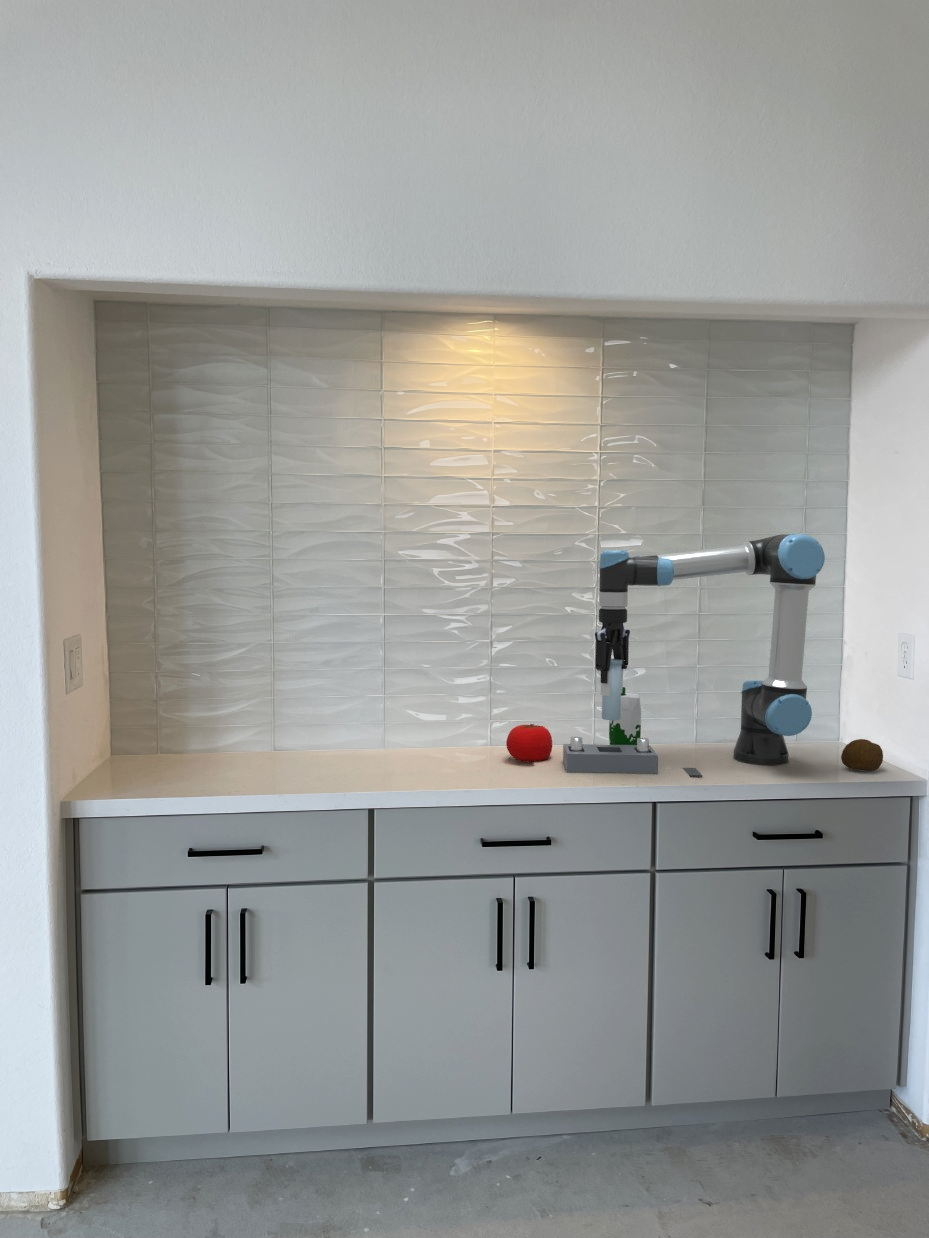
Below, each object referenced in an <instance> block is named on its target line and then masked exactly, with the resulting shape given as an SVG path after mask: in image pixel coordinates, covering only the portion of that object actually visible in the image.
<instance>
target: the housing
mask: <svg viewBox="0 0 929 1238" xmlns="http://www.w3.org/2000/svg"><path fill="white" fill-rule="evenodd" d="M562 745H563V746H562V747H563V748H562V763H563V767H564V768H565V772H566V773H568V774H573V773H574V774H619V775H620V774H622V775H658V773H659V771H658V769H659V755H658V753H657V752H656V751H655V750H654V748H653V747H652V746H651V745H650V744H649V753H637V745H610V744H590V743H587V744H585V743H584V744H583V743H582V752H571V751H570V743H563V744H562Z"/></svg>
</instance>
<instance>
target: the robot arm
mask: <svg viewBox="0 0 929 1238" xmlns="http://www.w3.org/2000/svg"><path fill="white" fill-rule="evenodd" d="M824 551H825V550H824V549H823V546H822V545H821V543H819V541H818V540H817V539H816V538H814V537H812V536H811V535H808V534H802V533H791V534H789V533H788V534H776V535H772V536H768V537H764V538H760V539H755V540H754V539H753V540H749V541H744V542H743V544H742V545H734V546H733V545H732V546H726V547H725V546H724V547H716V548H708V549H698V550H690V551H680V552H672V553H671V552H670V553H662V554H655V555H645V556H632V557H630V555H629V551H628V550H623V549H622V550H620V549H619V550H616V549H614V550H613V549H605V550H603V551H601V552H600V557H599V559H600V560H599V567H598V569H599V590H598V591H599V593H598V594H599V597H598V598H599V599H598V602H599V603H598V606H599V607H600V608H599V609H598V621H599V623H602V625H601V629H600V631H596V632H595V633H594V637H595V638H594V639H595V664H594V665H595V669H596V671H599V672H600V696H602V695H606V696H611V671H609V668H610V661H611V659H612V656H613V659H621V660H622V664H621V693H622V688H623V687H624V686H623V684H624V683H623V680H624V679H623V678H624V670H627V669H628V666H629V652H630V651H629V647H630V646H629V645H630V640H629V638H630V634H631V631H630V629H625V626H624V624H626V623H627V622H628V609H627V607H628V605H629V603H628V602H629V601H628V597H629V596H628V593H629V589H628V588H629V586H632V587H633V586H639V587H640V586H641V587H642V586H643V587H644V586H645V587H646V586H647V587H651V586H652V587H653V586H655V587H657V586H658V587H661V586H663V587H664V586H665V587H666V586H670V585H671V584H672V582H673V581H675V580H683V579H685V580H686V579H693V578H703V577H713V576H721V575H723V576H724V575H730V574H731V575H732V574H738V573H739V574H740V573H746V575H748V576H753V575H765V576H766V575H767V576H769V584H770V585H771V586H772V588H773V589H774V599H773V610H772V611H773V612H772V627H771V640H770V650H769V651H770V652H769V664H768V676H767V678H765V679H764V680H746V681H743V683H742V686H741V687H742V688H741V689H742V690H741V692H740V693H741V705H740V706H741V713H740V714H741V715H740V732H739V735H738V738H737V740H736V743H735V744H734V747H733V755H732V756H733V758H734V759H735V760H737V761H739V762H743V763H746V764H752V765H760V766H761V765H762V766H779V765H785V764H788V762H789V756H790V755H789V750H788V747H787V744H786V741H785V736H786V737H791V736H793V737H794V736H796V735H799V734H801V733H802V732H803V731H804V730H806V729H807V728H808V727H809V725H810V723H811V721H812V717H813V716H812V715H813V711H812V707H811V704H810V703H809V701H808V700H807V691H808V686H807V684H805V682H804V681H803V680H802V679H803V678H802V677H803V669H804V668H803V666H804V655H805V654H804V653H805V642H806V630H807V629H806V628H807V617H808V606H809V605H808V604H809V593H810V591H811V590H812V589H813V588H814V587H816V582H817V581H816V580H817V575H818V574H819V573H820V572H821V571H822V569H823V567H824V565H825V559H826V557H825V555H826V554H825V552H824Z"/></svg>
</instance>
